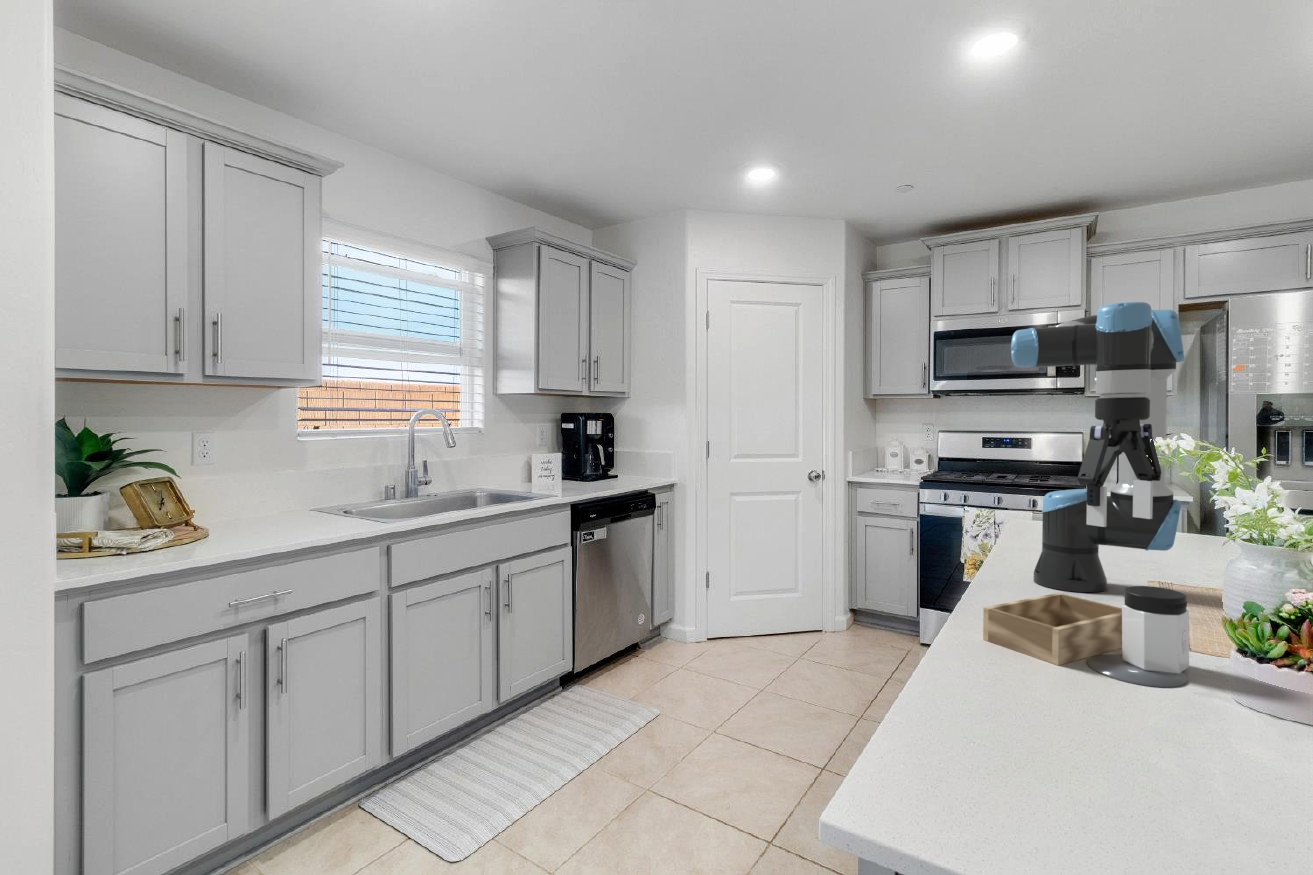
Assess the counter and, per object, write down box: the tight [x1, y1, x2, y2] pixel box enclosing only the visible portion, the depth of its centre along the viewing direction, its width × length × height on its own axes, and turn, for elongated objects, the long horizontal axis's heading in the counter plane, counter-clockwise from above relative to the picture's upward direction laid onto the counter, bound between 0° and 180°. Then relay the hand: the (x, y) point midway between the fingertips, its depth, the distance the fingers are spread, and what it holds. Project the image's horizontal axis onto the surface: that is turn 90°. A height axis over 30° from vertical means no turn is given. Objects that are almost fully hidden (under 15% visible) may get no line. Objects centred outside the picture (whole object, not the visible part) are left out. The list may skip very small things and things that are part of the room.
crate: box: [982, 592, 1122, 666], centre depth 119 cm, size 22×14×6 cm, turn 116°
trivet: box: [1087, 653, 1188, 688], centre depth 106 cm, size 13×13×1 cm
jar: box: [1121, 585, 1190, 674], centre depth 108 cm, size 9×8×12 cm
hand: (1119, 521), depth 111 cm, fingers open, 13 cm apart
